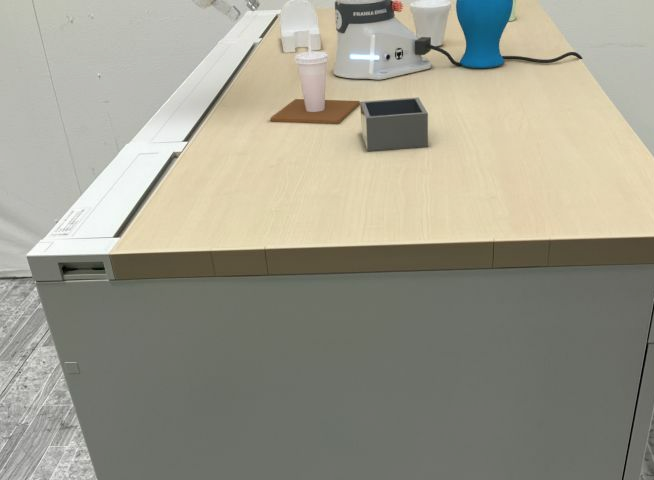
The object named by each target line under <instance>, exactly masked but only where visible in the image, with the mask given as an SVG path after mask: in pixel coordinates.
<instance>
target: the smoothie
mask: <svg viewBox="0 0 654 480" xmlns="http://www.w3.org/2000/svg"><path fill="white" fill-rule="evenodd" d="M307 39H308V47H307V51H305V52H301V53H297V54H295V56H294V63H295V64H296V65H297V71H298V76H299V81H300V88H301V92H302V96H303V97H302V98H303V99H304V102H305V107H306V111H308V112H319V111H323V110H324V109H325V100H326V88H327V87H326V86H327V85H326V84H327V83H326V82H327V62H328V61H329V57H328V53H327V52H323V51H311V40H310V30H307Z"/></svg>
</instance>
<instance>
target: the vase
mask: <svg viewBox="0 0 654 480" xmlns="http://www.w3.org/2000/svg"><path fill="white" fill-rule="evenodd" d="M512 8H513V0H456V2H455V13H456V17H457V21H458V23H459V25H460V27H461V30H462V32H463V35H464V39H465V50H464V53H463V55H462V57H461V58H460V60H459V63H460V64H461V65H463V66H462V67H466V68H470V69H491V68H497V67H499V66H502V65H503V64H504V63H505V60H504V59H503V57H502V56H503V55H502V53H501V50H500V42H501V38H502V35H503V33H504V32H505V29H506V27H507V25H508V23H509V22H510V21H509V19H510V16H511V13H512Z"/></svg>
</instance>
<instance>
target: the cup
mask: <svg viewBox="0 0 654 480" xmlns="http://www.w3.org/2000/svg"><path fill="white" fill-rule="evenodd" d="M451 8H452V2H451V1H450V0H416V1H413V2H411V3H410V4H409V9H410V13H411V14H412V18H413V25H414V30H415V35H416V36H417V37H418V39H419V38H421V37H431V45H433V46H436V47H439V48H441V47H442V46H443V44H444V39H445V33H446V29H447V24H448V19H449V14H450V11H451Z"/></svg>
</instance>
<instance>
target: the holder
mask: <svg viewBox="0 0 654 480" xmlns="http://www.w3.org/2000/svg"><path fill="white" fill-rule="evenodd" d="M359 105H360V107H359V108H360V127H361V130H360V131H361V136H362V138H363V142H364V145H365V149H366V151H367V152H376V151H391V150H392V151H393V150H402V149H415V148H428V147H429V113H428V111H427V110H426V108H425V106H424V104H423V102H422V101H421V99H420V98H419V97H417V96H416V97H405V98H392V99H391V98H390V99H377V100H367V101H360V104H359Z"/></svg>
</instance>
